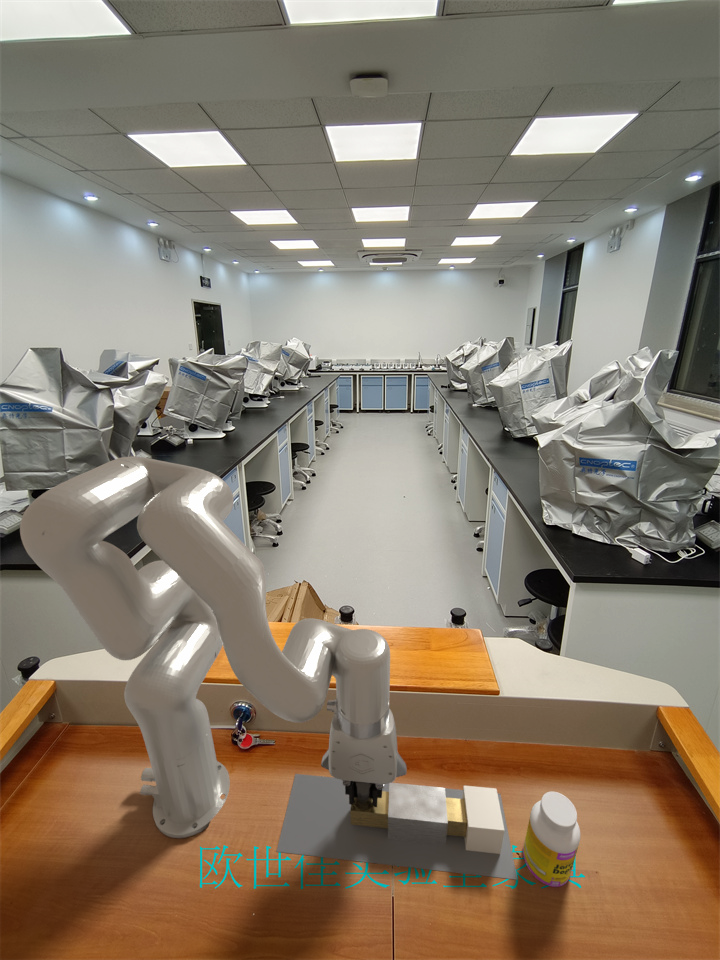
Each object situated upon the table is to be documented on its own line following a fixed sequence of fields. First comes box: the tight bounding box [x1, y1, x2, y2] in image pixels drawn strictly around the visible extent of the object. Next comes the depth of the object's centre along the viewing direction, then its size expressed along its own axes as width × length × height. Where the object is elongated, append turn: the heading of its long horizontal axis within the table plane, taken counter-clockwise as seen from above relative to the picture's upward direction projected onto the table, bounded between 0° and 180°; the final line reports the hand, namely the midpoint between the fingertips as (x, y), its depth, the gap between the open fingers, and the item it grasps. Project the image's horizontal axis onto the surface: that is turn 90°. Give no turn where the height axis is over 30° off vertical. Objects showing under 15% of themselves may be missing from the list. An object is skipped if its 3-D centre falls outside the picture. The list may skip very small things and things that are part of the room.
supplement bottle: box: [522, 791, 581, 888], centre depth 62 cm, size 7×7×13 cm
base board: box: [276, 773, 518, 881], centre depth 69 cm, size 36×12×1 cm, turn 84°
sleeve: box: [388, 782, 448, 845], centre depth 68 cm, size 9×5×5 cm, turn 84°
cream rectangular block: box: [462, 785, 505, 854], centre depth 67 cm, size 5×6×6 cm
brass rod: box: [350, 781, 467, 837], centre depth 67 cm, size 22×3×9 cm, turn 84°
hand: (364, 795), depth 68 cm, fingers closed on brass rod, 3 cm apart
